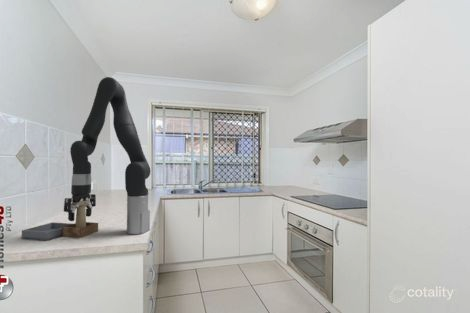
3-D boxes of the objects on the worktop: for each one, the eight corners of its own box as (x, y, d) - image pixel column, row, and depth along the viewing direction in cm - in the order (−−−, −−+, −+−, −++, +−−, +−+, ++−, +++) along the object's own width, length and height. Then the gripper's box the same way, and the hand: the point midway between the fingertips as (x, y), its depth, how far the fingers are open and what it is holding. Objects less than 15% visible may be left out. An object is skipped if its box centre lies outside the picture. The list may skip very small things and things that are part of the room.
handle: (69, 235, 98) (70, 202, 98) (83, 231, 104) (83, 199, 104) (77, 236, 96) (78, 202, 97) (91, 231, 103) (91, 200, 103)
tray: (75, 231, 104) (76, 223, 104) (47, 240, 91) (47, 232, 91) (52, 229, 107) (52, 222, 107) (21, 238, 94) (21, 230, 94)
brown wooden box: (98, 231, 104) (98, 222, 104) (80, 237, 95) (80, 228, 95) (80, 229, 106) (80, 221, 106) (61, 236, 97) (62, 227, 97)
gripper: (73, 185, 93) (72, 223, 93) (100, 182, 107) (99, 215, 107) (59, 184, 95) (58, 221, 94) (88, 182, 109) (87, 214, 108)
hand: (80, 218), depth 101 cm, fingers open, 8 cm apart
